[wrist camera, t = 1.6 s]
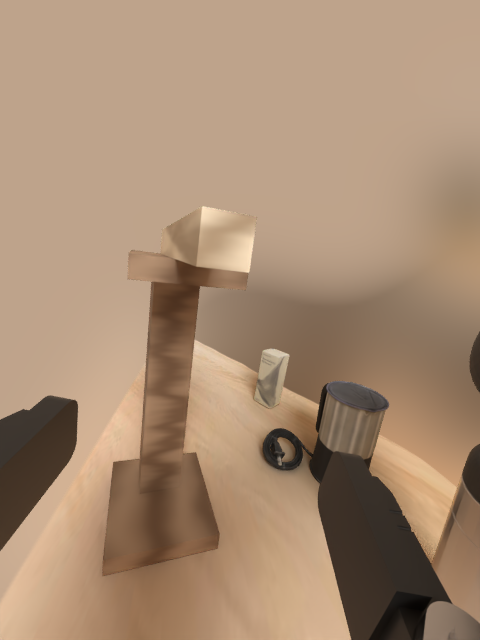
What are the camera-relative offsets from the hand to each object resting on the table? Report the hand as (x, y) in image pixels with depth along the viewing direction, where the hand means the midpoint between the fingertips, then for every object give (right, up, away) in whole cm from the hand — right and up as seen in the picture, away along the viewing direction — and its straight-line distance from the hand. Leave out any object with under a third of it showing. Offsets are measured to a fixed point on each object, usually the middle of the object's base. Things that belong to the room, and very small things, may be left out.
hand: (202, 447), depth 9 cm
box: (+8, -16, +60) cm, 63 cm away
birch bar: (-4, +10, +17) cm, 20 cm away
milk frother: (+13, -21, +39) cm, 47 cm away
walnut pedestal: (-9, -20, +28) cm, 36 cm away
